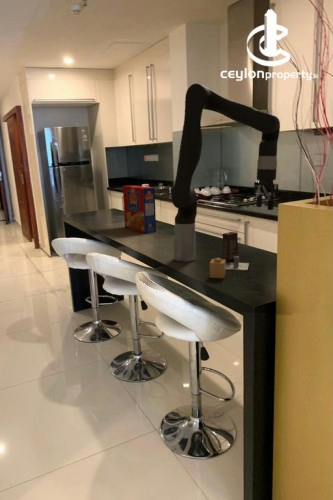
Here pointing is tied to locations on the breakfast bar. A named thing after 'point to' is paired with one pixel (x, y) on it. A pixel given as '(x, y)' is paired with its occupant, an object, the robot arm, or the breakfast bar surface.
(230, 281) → the breakfast bar surface
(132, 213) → the pasta box
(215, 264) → the orange toy brick
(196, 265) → the breakfast bar surface
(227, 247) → the box
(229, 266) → the square plate with peg
